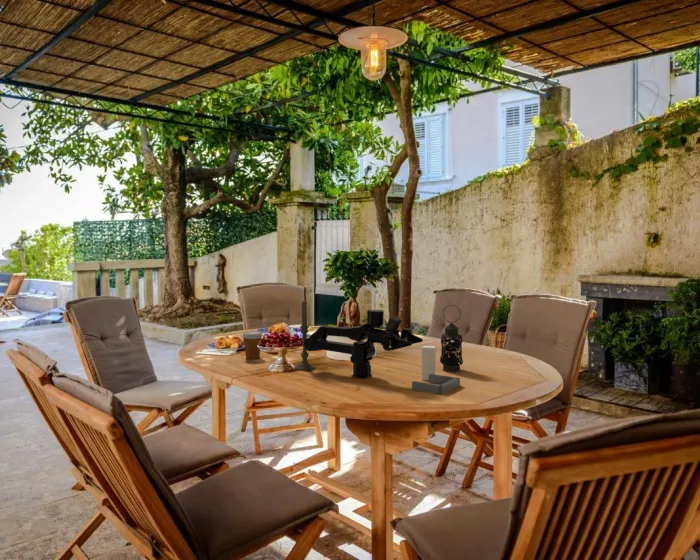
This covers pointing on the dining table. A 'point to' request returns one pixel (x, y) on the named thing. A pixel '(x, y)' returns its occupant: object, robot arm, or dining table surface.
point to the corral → (446, 382)
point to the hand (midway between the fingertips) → (417, 342)
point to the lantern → (451, 347)
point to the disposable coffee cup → (252, 344)
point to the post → (428, 361)
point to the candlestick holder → (304, 329)
